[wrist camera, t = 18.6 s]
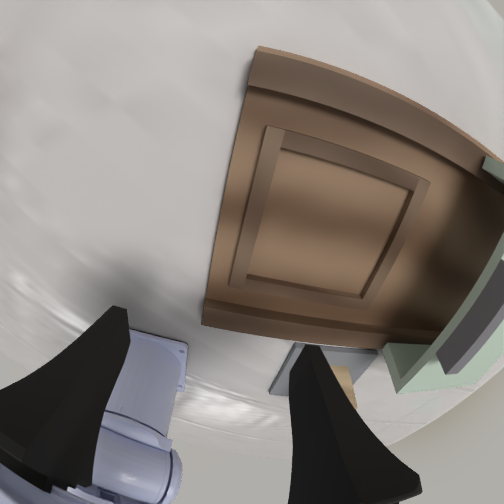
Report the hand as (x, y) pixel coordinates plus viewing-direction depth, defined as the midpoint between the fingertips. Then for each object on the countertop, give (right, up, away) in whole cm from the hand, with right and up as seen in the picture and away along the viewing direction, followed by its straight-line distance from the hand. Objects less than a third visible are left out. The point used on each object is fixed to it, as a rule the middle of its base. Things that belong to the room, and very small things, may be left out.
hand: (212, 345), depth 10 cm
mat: (+9, -9, +16) cm, 21 cm away
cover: (+21, +1, +7) cm, 22 cm away
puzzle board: (+14, +4, +8) cm, 17 cm away
